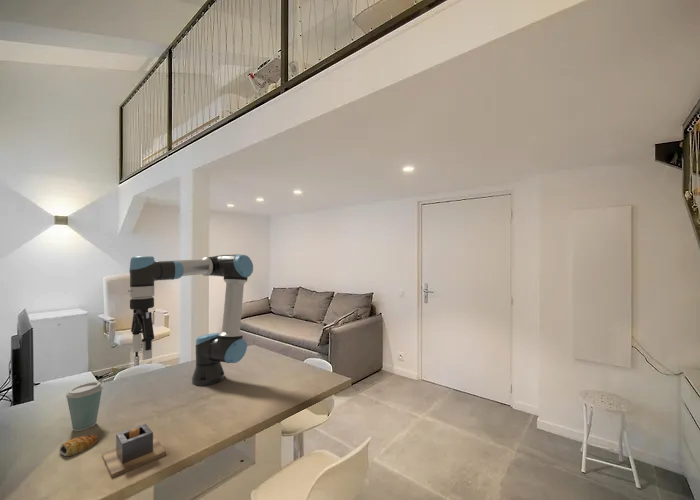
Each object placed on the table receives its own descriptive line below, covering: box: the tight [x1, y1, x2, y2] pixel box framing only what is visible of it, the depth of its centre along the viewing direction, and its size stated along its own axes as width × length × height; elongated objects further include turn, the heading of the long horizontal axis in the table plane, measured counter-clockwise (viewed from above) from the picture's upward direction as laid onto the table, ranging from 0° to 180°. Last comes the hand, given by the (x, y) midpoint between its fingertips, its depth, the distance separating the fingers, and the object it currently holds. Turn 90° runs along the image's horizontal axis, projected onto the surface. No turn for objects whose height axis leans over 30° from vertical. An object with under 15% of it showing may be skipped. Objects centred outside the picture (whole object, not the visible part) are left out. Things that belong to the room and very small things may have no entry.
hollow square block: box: [115, 423, 154, 464], centre depth 98 cm, size 8×8×6 cm
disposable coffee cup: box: [65, 380, 103, 432], centre depth 116 cm, size 11×11×15 cm
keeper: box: [101, 427, 167, 478], centre depth 98 cm, size 14×14×8 cm
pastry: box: [58, 434, 99, 457], centre depth 102 cm, size 9×7×4 cm
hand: (142, 355), depth 114 cm, fingers open, 13 cm apart
